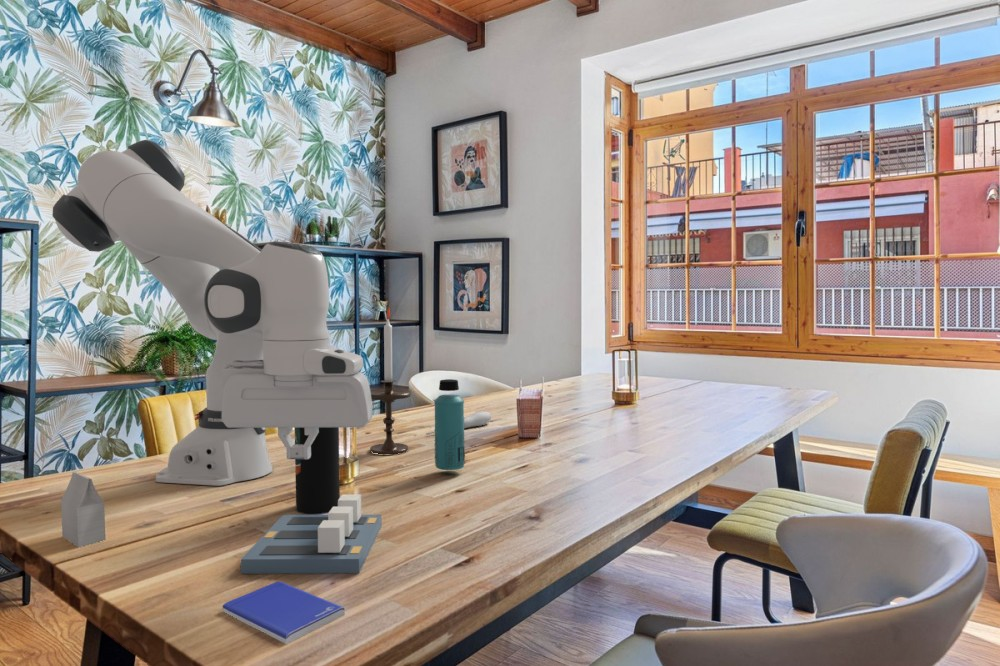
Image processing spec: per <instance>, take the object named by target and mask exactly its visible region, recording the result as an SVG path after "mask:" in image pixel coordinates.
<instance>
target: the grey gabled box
mask: <svg viewBox="0 0 1000 666" xmlns="http://www.w3.org/2000/svg"><path fill="white" fill-rule="evenodd" d="M60 506H61V508H60V509H61V534H62V538H63V537H64V538H65V540H66V539H67V540H68V542H69V541H70V542H69V543H71V542H72V543H73V544H72V543H71V544H72V545H74V544H75V545H76V546H75V545H74V546H75V547H77V548H78V547H80V548H82V547H81V546H83V547H86V546H85V545H87V546H90V545H89V544H91V545H94V544H93V543H95V544H97V543H96V542H98V543H101V542H100V541H102V542H104V541H103V540H107V539H106V519H105V517H106V516H105V515H106V514H105V511H106V510H105V501H103V499H102V497H101V496H100V494H99V492H98V491H97V489H96V488H95V485H94V483H93V480H92V478H90V477H88V476H86V475H84V474H81V473H79V472H77V471H72V474H71V477H70V480H69V483H68V485H67V488H66V489H65V491H64V494H63V495H62V497H61V499H60ZM64 538H63V539H64ZM67 540H66V541H67Z"/></svg>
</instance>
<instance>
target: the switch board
mask: <svg viewBox="0 0 1000 666" xmlns="http://www.w3.org/2000/svg"><path fill="white" fill-rule="evenodd" d="M382 518H383V517H382V514H361V517H360V519H359V520H358V522H353V531H352V532H351V534H350V536H349V537H345V545H344V546H343V548H342V550H341V551H340V553H318V527H319V525H320V524H321V523H322V521H323V520H328V514H282V516H280V517H279V518H278V520H276V521H275V523H274V524H273V525H272V526H271V527H270V528H269V529H268V530H267V531H266V532H265V533H264V534H263V536H262V537H261V538H259V540H257V542H256V543H255V544H254V545H253V546H252V547H251V548H250V549H249V550H248V551H247V552H246V553H245V554H244V555H243V556H242V557H241V558H240V574H241V575H245V574H247V575H248V574H249V575H251V574H252V575H253V574H257V575H258V574H259V575H260V574H262V575H263V574H264V575H265V574H268V575H269V574H270V575H271V574H273V575H274V574H275V575H276V574H279V575H280V574H282V575H283V574H285V575H286V574H288V575H289V574H292V575H293V574H301V575H302V574H306V575H307V574H310V575H311V574H360V573H361V570H362V568H363V566H364V564H365V562H366V560H367V558H368V556H369V554H370V551H372V548H371V547H373V545H374V544H375V541H376V539H377V537H378V535H379V533H380V531H381V529H380V528H382V527H381V526H382ZM379 530H380V531H379ZM378 532H379V533H378ZM377 534H378V535H377Z"/></svg>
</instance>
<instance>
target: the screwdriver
mask: <svg viewBox="0 0 1000 666" xmlns="http://www.w3.org/2000/svg"><path fill="white" fill-rule="evenodd" d="M491 420H492V415H491V412H488V411H481V410H480V411H475V412H474V413H472V414H471V415H469V416H466V417H464V424H465V426H464V430H465V429H467V428H476V426H478V427H483V426H485V425H487V424H488V423H489V422H491ZM482 425H483V426H482ZM430 434H435V430H431V431H428V432H426V433H425V435H427V436H428V435H430Z"/></svg>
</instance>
